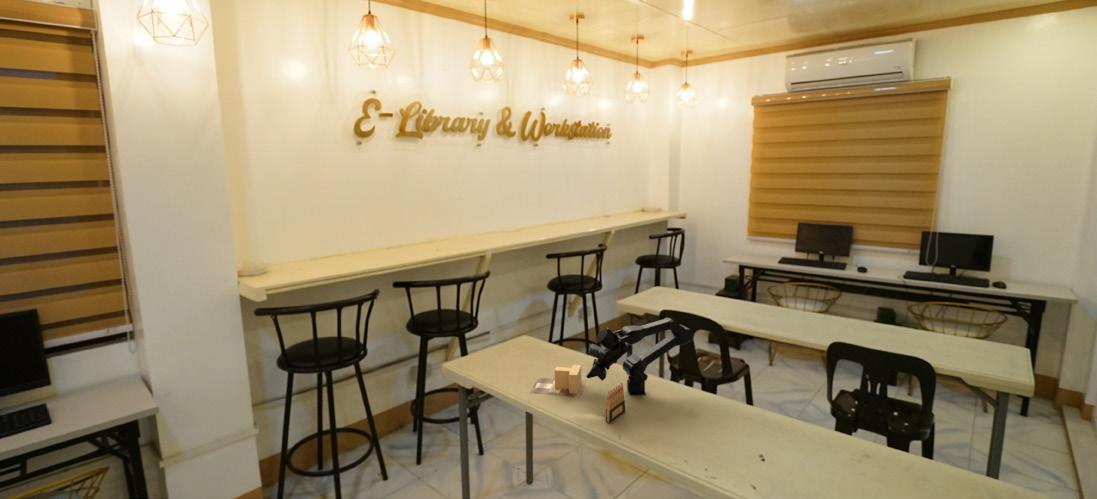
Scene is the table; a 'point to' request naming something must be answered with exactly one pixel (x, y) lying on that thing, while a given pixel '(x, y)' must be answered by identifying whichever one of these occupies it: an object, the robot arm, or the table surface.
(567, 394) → the board
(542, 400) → the table surface
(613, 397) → the ammunition clip
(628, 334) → the robot arm
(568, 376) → the t block
